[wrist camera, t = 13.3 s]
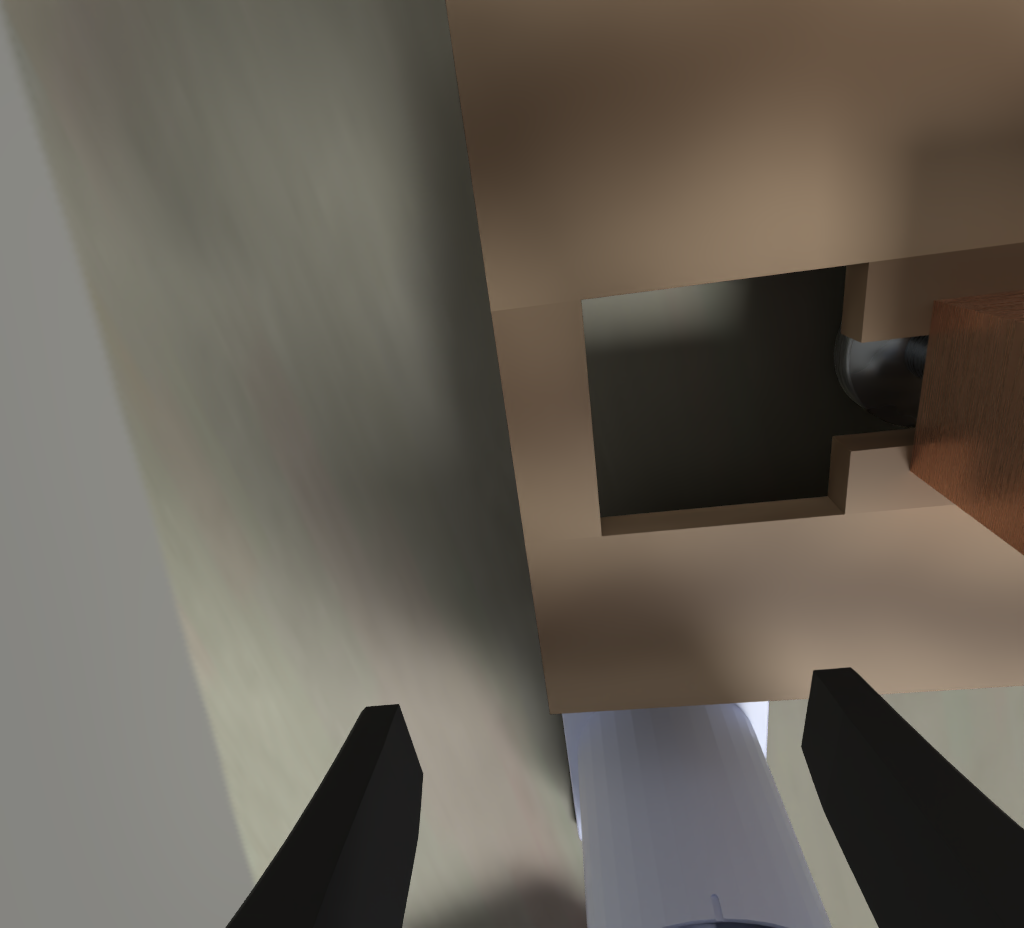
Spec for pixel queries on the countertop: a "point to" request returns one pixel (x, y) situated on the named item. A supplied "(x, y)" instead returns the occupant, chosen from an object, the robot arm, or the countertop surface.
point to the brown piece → (955, 402)
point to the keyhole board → (730, 256)
